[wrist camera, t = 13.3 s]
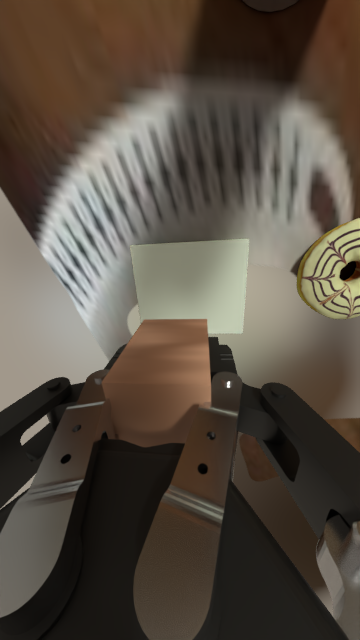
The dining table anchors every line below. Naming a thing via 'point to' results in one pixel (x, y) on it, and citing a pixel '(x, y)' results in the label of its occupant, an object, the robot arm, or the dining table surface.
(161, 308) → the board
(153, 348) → the terracotta block
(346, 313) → the decorated donut
